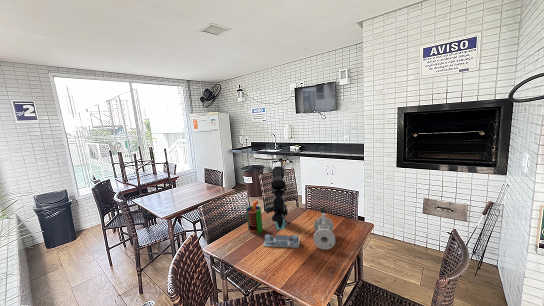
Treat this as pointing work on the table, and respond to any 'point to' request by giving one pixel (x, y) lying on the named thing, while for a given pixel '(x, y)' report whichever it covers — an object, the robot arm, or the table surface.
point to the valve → (323, 232)
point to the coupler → (282, 225)
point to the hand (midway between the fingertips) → (280, 225)
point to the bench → (282, 241)
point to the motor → (254, 218)
